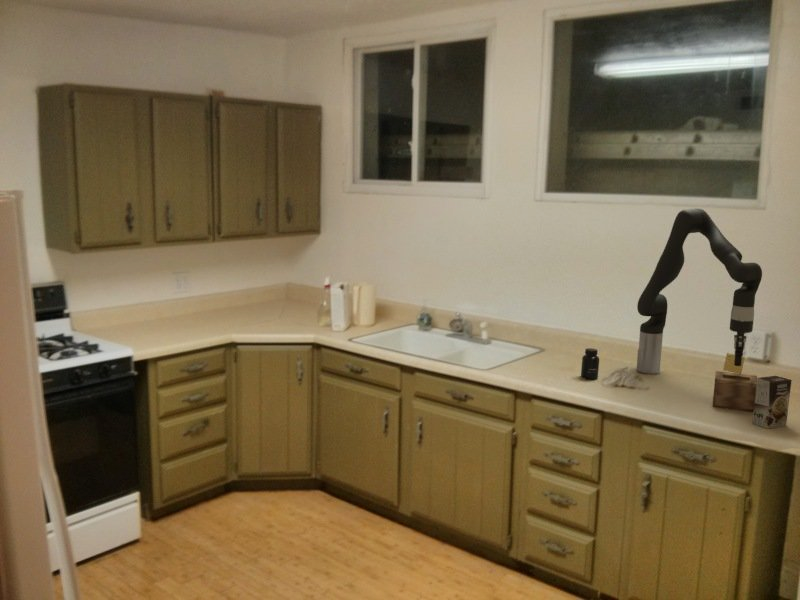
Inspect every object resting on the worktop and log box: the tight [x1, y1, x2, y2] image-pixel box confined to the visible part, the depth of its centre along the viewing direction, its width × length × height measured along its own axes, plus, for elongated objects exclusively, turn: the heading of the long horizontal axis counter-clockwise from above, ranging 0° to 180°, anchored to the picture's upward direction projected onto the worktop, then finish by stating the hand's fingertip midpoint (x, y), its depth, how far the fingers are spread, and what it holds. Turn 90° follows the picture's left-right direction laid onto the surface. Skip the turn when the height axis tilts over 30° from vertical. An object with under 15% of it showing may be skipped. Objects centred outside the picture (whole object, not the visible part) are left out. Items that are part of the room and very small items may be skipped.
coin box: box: [712, 370, 758, 413], centre depth 267 cm, size 14×12×10 cm
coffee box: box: [752, 375, 792, 429], centre depth 246 cm, size 9×6×16 cm
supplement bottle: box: [580, 347, 600, 381], centre depth 299 cm, size 7×7×12 cm
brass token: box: [722, 352, 746, 374], centre depth 266 cm, size 6×2×6 cm, turn 66°
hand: (737, 364), depth 266 cm, fingers closed on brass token, 2 cm apart
